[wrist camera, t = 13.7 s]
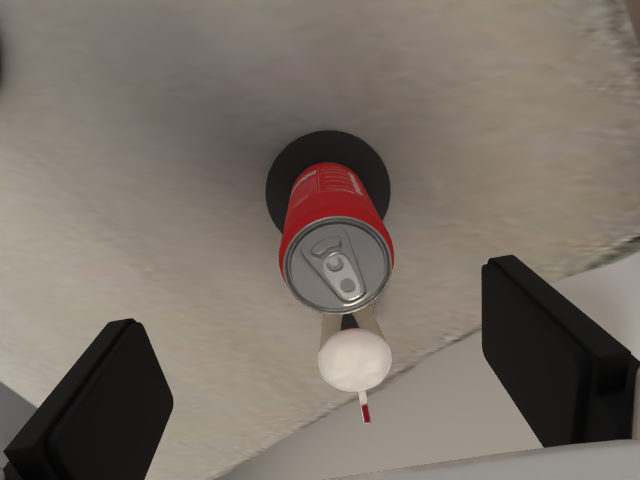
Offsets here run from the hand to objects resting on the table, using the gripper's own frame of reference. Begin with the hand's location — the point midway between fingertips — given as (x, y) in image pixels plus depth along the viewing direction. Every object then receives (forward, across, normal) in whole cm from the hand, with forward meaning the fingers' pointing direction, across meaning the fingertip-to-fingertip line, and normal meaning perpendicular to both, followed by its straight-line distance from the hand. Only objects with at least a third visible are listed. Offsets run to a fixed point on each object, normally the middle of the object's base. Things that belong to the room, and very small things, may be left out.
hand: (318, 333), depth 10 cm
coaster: (+18, -1, +1) cm, 18 cm away
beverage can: (+18, -1, +1) cm, 18 cm away
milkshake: (+18, -1, +10) cm, 21 cm away
